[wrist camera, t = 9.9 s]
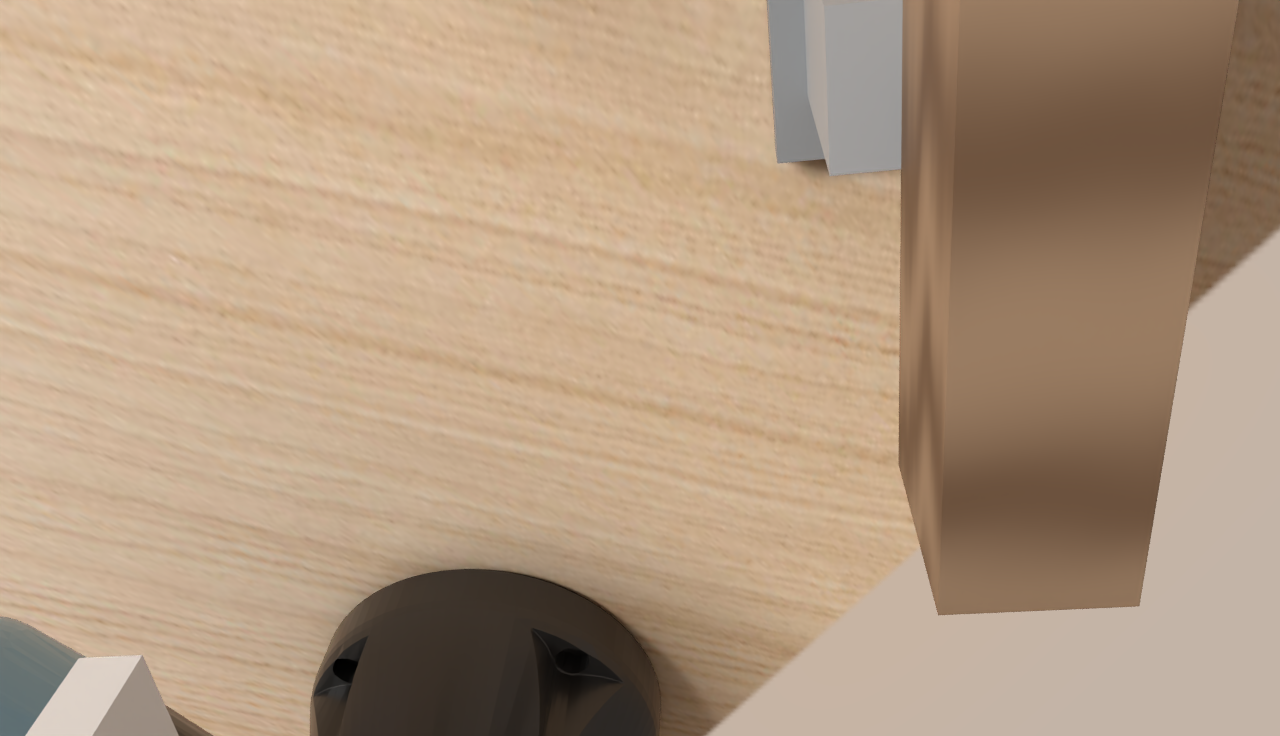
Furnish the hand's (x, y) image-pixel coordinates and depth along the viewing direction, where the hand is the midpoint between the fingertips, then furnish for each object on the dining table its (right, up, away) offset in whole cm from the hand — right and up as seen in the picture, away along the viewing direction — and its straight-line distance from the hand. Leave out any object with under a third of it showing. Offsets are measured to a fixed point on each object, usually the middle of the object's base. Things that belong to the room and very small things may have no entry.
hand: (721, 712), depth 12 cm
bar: (+7, +11, +12) cm, 18 cm away
